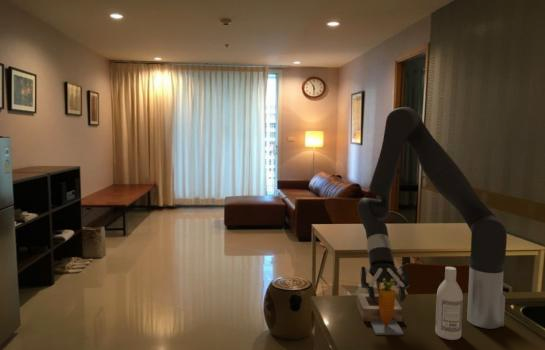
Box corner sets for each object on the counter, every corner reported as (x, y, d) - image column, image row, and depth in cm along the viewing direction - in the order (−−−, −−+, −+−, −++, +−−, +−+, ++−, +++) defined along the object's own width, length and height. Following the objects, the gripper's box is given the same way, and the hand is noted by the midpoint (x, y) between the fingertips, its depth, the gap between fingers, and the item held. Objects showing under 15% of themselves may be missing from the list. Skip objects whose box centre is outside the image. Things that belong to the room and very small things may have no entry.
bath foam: (466, 339, 116) (469, 271, 114) (445, 342, 114) (448, 273, 112) (450, 327, 123) (453, 263, 121) (430, 330, 121) (432, 265, 119)
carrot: (391, 322, 125) (392, 274, 124) (397, 329, 120) (398, 280, 119) (375, 322, 125) (376, 274, 124) (380, 330, 120) (381, 280, 119)
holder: (391, 305, 139) (392, 293, 138) (402, 321, 127) (402, 309, 126) (356, 304, 139) (356, 293, 139) (363, 321, 127) (363, 308, 127)
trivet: (396, 322, 126) (396, 320, 126) (403, 335, 118) (403, 333, 118) (370, 322, 127) (370, 320, 127) (375, 334, 119) (375, 332, 119)
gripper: (359, 245, 128) (365, 295, 118) (405, 246, 127) (415, 296, 117) (356, 257, 134) (362, 305, 123) (399, 257, 133) (409, 305, 123)
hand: (388, 300), depth 120 cm, fingers open, 8 cm apart
